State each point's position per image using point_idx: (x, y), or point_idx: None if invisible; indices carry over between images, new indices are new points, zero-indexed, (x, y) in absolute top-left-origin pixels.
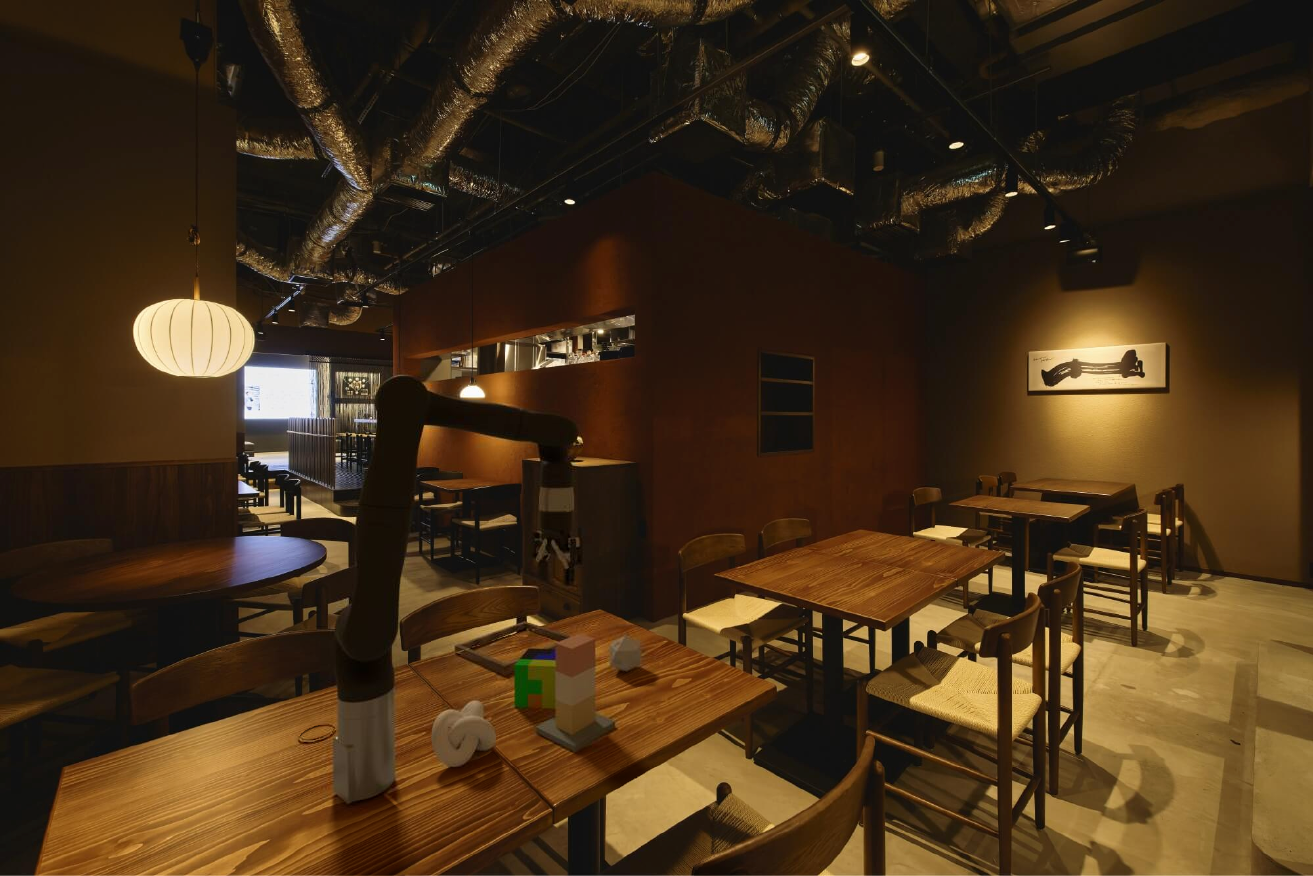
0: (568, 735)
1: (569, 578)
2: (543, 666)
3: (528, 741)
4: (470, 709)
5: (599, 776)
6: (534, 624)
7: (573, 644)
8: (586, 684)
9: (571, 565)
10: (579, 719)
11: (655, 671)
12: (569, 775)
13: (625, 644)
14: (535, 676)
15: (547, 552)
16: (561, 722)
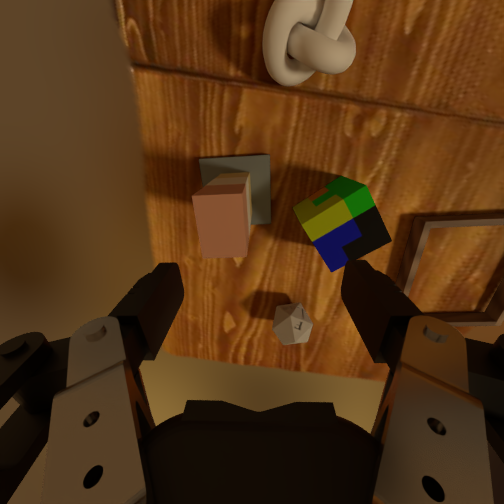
0: (223, 170)
1: (131, 288)
2: (319, 213)
3: (260, 134)
4: (321, 35)
5: (145, 145)
6: (477, 325)
7: (208, 213)
8: None
9: (22, 339)
10: None
11: (264, 324)
12: (167, 122)
13: (287, 330)
14: (326, 202)
15: (381, 425)
16: (238, 173)
